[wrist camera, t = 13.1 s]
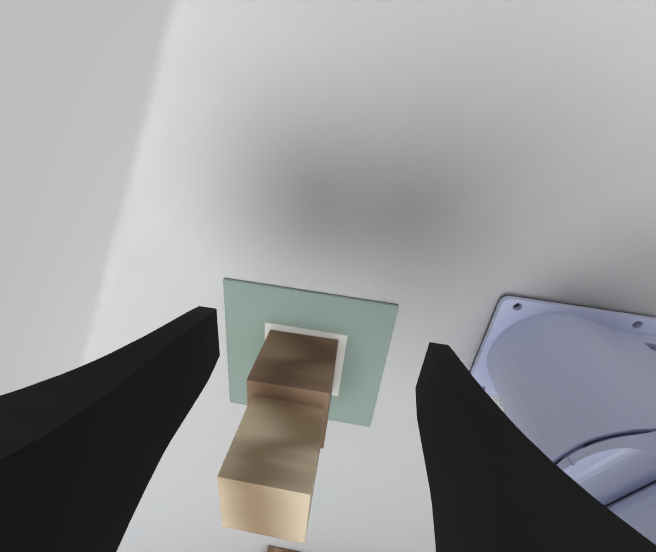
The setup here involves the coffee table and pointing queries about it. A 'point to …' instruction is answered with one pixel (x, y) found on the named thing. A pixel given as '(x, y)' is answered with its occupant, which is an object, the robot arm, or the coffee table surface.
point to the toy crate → (278, 549)
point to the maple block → (272, 469)
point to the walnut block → (295, 370)
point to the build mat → (315, 320)
